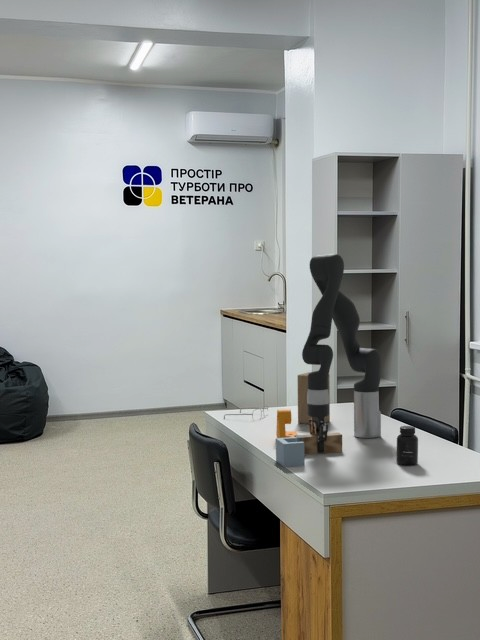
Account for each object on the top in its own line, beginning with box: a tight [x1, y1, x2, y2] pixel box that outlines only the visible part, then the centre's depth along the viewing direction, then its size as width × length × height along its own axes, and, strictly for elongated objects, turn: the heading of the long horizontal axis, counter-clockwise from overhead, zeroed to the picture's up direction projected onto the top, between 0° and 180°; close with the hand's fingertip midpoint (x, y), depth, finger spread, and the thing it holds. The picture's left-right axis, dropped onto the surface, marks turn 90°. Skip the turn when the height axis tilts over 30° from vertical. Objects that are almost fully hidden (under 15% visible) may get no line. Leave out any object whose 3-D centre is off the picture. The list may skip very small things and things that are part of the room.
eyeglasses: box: [223, 405, 269, 422], centre depth 351 cm, size 16×15×5 cm
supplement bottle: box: [396, 425, 419, 467], centre depth 264 cm, size 7×7×12 cm
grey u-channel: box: [275, 437, 306, 468], centre depth 267 cm, size 7×9×8 cm
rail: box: [294, 432, 343, 456], centre depth 282 cm, size 16×4×6 cm, turn 104°
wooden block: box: [297, 371, 331, 425], centre depth 336 cm, size 10×10×20 cm
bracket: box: [276, 408, 299, 438], centre depth 300 cm, size 11×7×12 cm, turn 4°
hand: (318, 450), depth 282 cm, fingers closed on rail, 4 cm apart
